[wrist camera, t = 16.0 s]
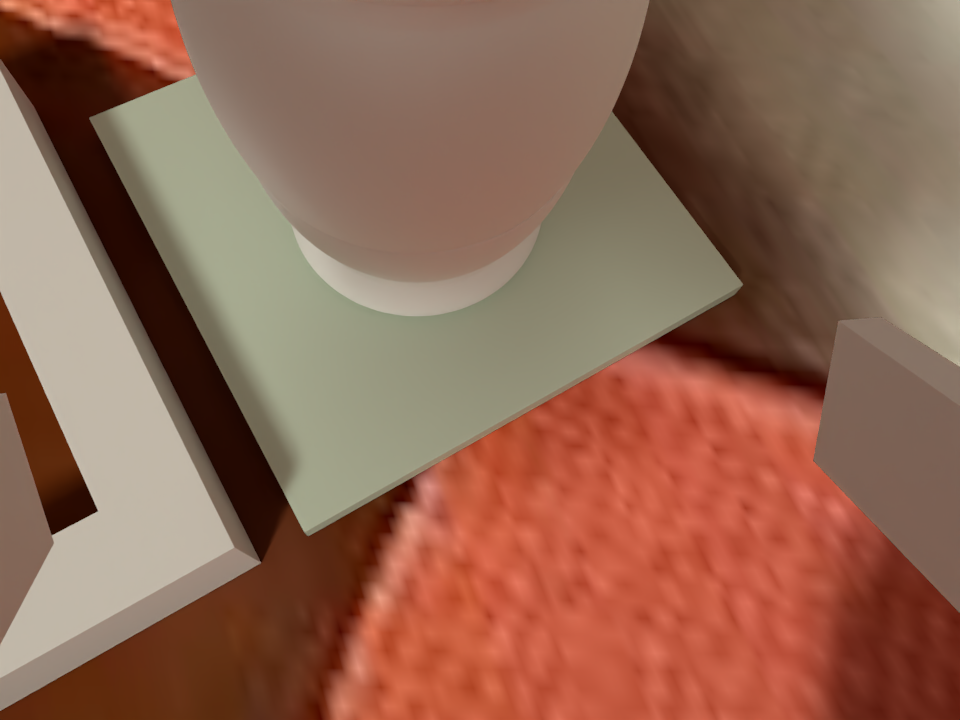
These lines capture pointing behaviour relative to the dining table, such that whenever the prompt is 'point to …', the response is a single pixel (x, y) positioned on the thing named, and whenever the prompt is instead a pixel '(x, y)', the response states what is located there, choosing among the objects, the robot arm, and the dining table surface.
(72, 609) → the white square frame
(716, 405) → the dining table surface
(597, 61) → the jar
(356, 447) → the pad
